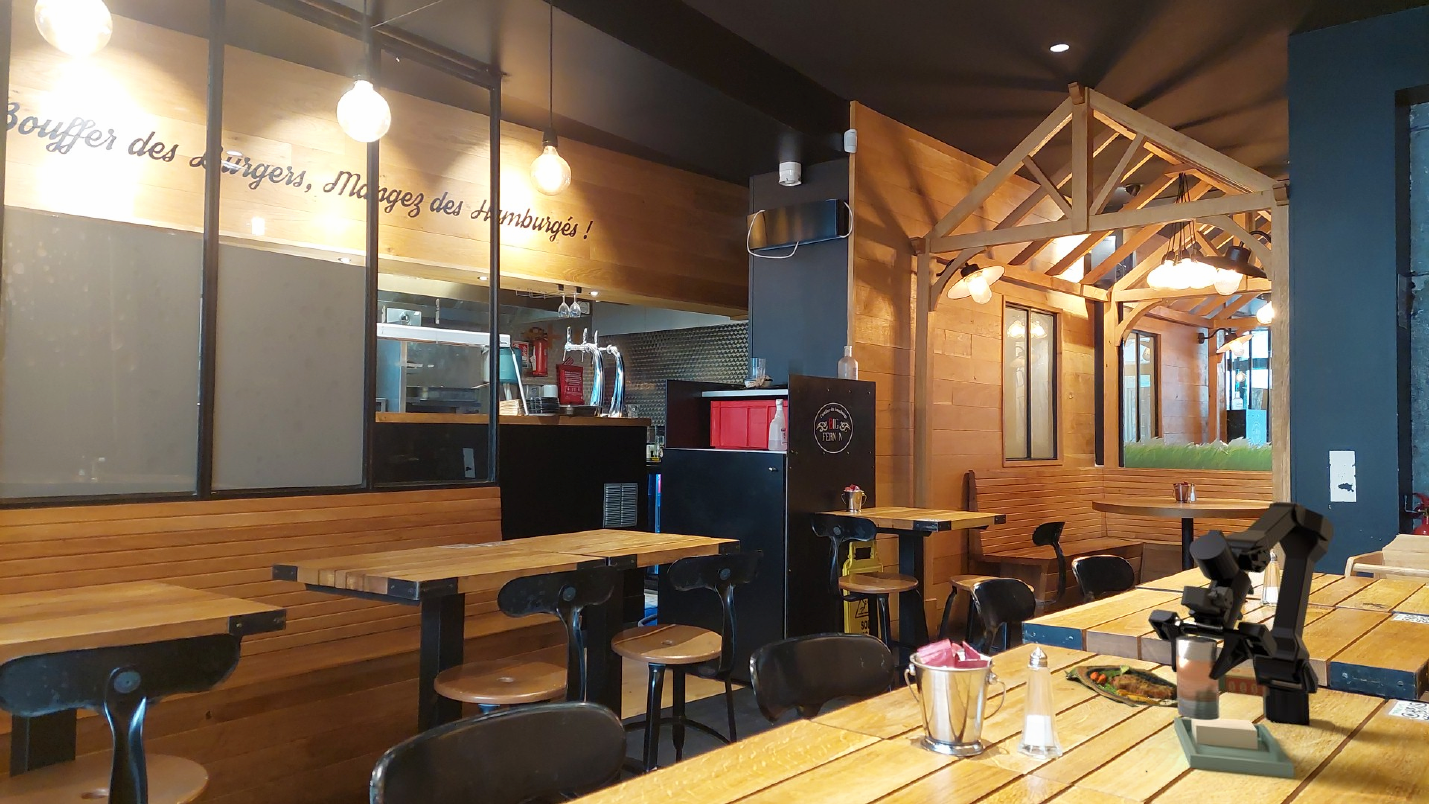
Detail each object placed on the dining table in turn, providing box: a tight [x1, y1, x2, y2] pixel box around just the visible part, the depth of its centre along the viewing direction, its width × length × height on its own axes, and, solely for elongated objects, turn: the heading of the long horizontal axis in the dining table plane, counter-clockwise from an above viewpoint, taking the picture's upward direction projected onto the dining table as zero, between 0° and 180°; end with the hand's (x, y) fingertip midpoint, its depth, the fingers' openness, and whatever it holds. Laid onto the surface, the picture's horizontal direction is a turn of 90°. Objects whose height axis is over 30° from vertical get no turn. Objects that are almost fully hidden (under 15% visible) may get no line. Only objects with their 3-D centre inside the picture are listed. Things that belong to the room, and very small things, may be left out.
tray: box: [1173, 716, 1295, 779], centre depth 156 cm, size 14×22×2 cm, turn 160°
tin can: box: [1176, 635, 1220, 720], centre depth 155 cm, size 6×6×12 cm
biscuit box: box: [1191, 717, 1258, 749], centre depth 161 cm, size 9×6×3 cm, turn 70°
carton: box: [1219, 666, 1266, 697], centre depth 197 cm, size 8×16×4 cm, turn 58°
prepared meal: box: [1063, 664, 1178, 709], centre depth 196 cm, size 28×4×18 cm
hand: (1193, 674), depth 154 cm, fingers closed on tin can, 6 cm apart
